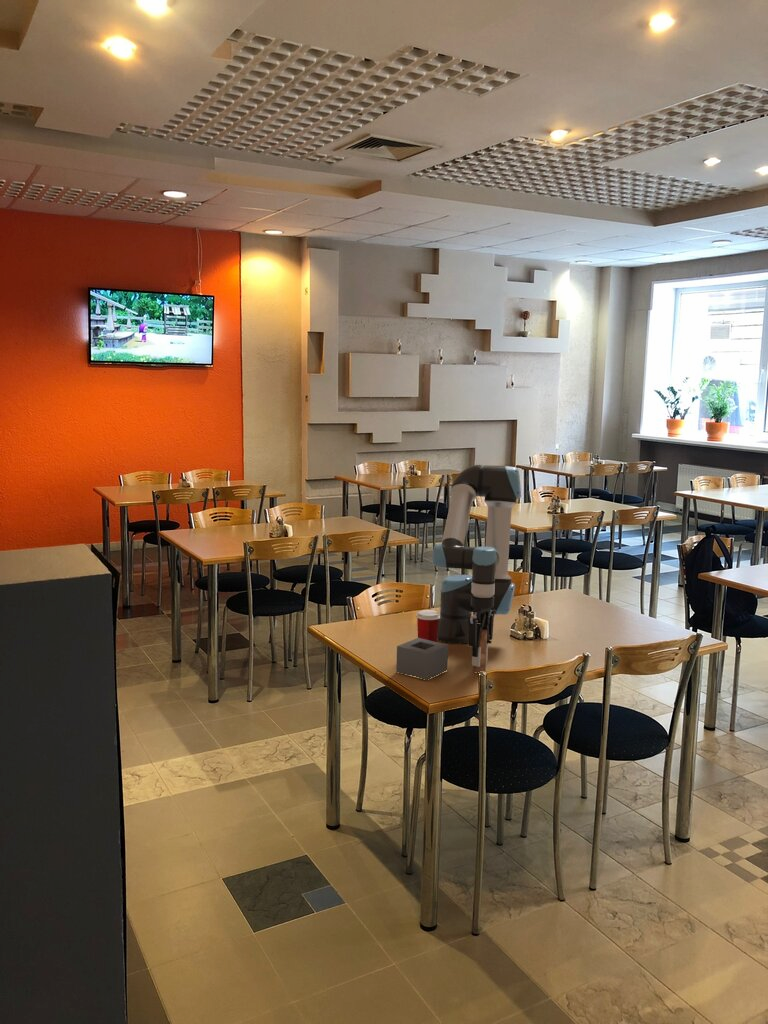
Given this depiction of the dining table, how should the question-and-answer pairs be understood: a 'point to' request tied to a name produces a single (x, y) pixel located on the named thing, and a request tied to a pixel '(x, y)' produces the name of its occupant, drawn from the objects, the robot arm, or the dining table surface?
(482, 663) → the pin
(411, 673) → the socket block
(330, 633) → the dining table surface
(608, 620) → the dining table surface
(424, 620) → the coffee cup
